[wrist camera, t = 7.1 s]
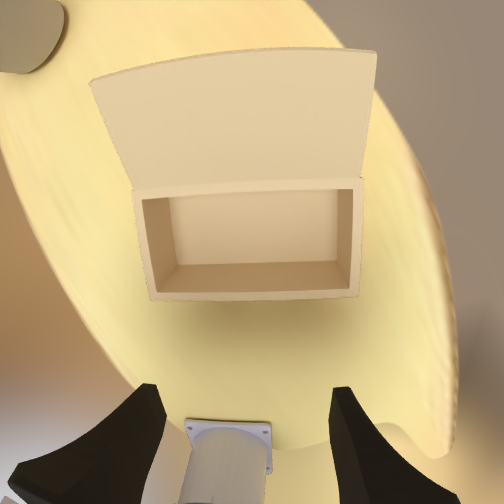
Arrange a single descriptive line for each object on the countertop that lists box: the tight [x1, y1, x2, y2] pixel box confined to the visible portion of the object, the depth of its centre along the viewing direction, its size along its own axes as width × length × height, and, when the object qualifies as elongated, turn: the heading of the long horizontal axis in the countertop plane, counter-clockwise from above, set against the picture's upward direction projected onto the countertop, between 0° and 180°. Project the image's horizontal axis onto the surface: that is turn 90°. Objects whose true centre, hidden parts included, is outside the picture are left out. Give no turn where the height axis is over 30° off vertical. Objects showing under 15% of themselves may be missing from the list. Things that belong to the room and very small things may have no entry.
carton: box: [131, 177, 364, 301], centre depth 17 cm, size 6×11×4 cm, turn 94°
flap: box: [89, 47, 377, 190], centre depth 12 cm, size 6×11×1 cm
